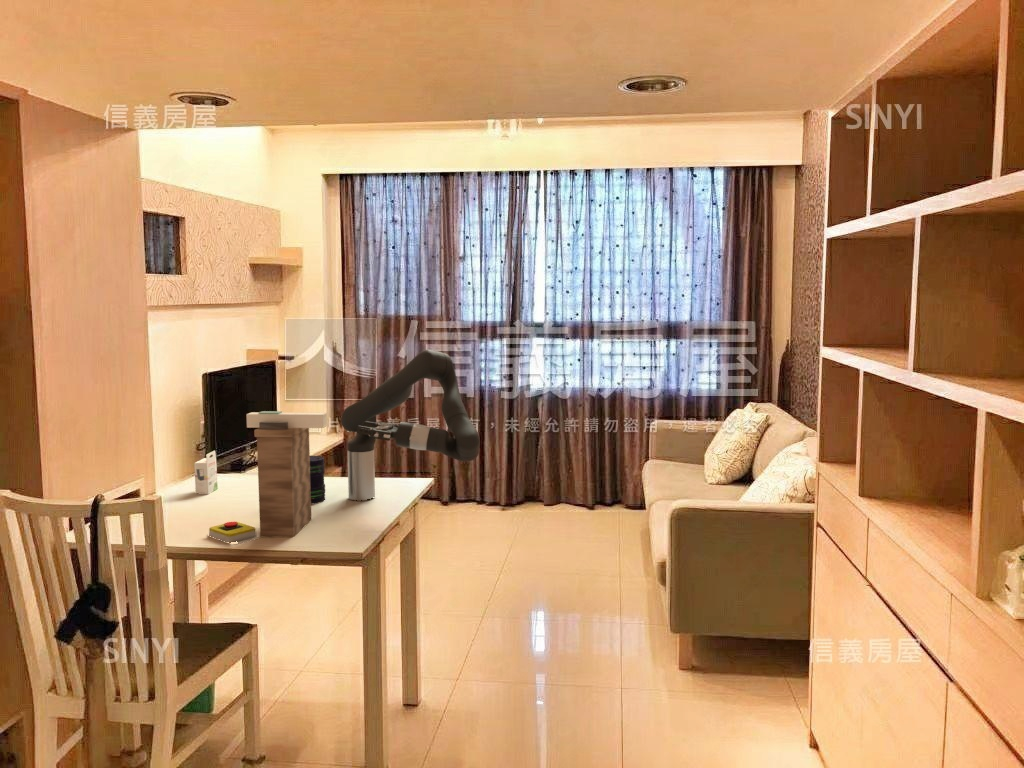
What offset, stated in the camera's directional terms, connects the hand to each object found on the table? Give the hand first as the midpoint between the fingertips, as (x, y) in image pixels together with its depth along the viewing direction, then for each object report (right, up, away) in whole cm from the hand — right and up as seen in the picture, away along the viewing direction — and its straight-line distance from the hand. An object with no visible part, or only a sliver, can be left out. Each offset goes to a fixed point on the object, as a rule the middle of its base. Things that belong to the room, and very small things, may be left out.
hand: (360, 426), depth 236 cm
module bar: (-22, 0, 0) cm, 22 cm away
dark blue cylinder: (-25, -28, +41) cm, 55 cm away
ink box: (-67, -27, +53) cm, 89 cm away
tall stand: (-24, -32, +7) cm, 40 cm away
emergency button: (-37, -33, -2) cm, 50 cm away
